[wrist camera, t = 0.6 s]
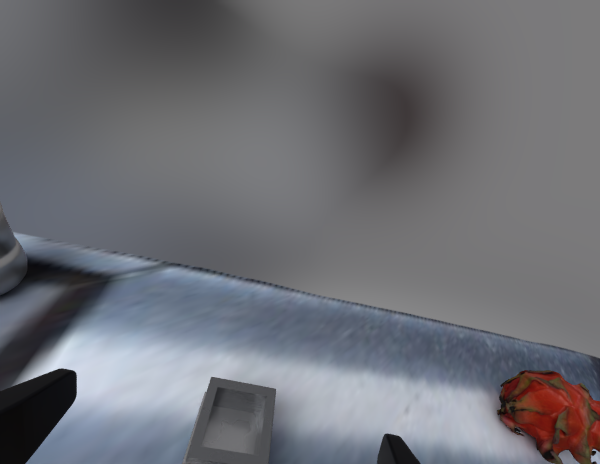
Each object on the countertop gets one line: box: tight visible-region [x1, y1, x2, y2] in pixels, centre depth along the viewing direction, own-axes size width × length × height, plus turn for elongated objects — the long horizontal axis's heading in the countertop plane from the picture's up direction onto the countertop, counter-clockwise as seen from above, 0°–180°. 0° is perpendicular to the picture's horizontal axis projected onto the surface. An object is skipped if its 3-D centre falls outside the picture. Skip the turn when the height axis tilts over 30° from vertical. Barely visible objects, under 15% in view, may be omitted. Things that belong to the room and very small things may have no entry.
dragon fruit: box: [497, 370, 600, 464], centre depth 30 cm, size 8×8×12 cm
